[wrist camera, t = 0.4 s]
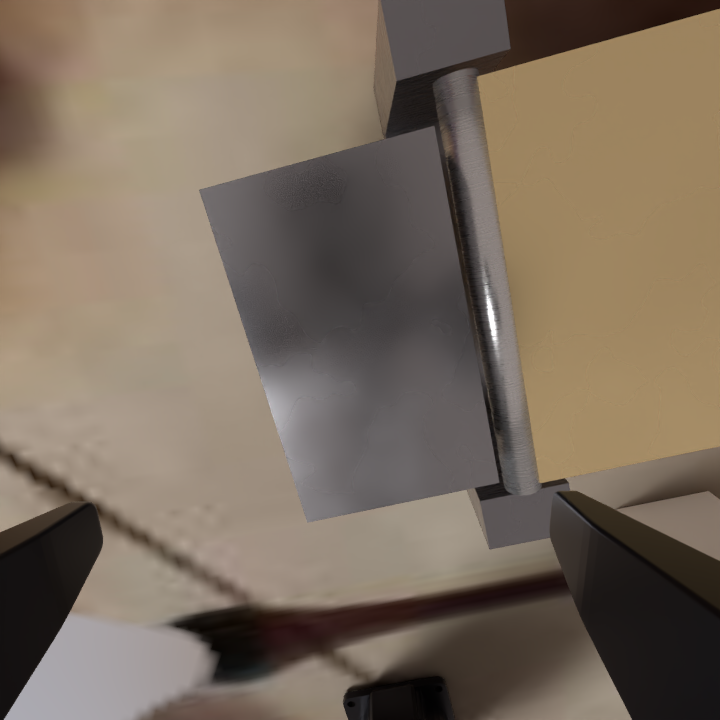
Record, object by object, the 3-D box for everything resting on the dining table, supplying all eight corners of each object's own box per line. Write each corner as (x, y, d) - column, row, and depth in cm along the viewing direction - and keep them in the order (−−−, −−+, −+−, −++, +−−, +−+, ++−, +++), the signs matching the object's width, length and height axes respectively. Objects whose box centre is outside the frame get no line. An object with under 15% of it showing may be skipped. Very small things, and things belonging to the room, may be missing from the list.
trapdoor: (857, 390, 16) (960, 424, 13) (325, 502, 17) (317, 553, 14) (884, -29, 12) (1031, -102, 9) (218, 156, 14) (182, 138, 11)
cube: (710, 565, 26) (789, 643, 21) (621, 581, 26) (678, 661, 21) (707, 490, 24) (791, 554, 19) (613, 508, 25) (673, 576, 20)
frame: (506, 432, 23) (575, 532, 16) (449, 444, 24) (489, 549, 16) (443, 68, 19) (498, -43, 11) (373, 88, 19) (378, -7, 11)
